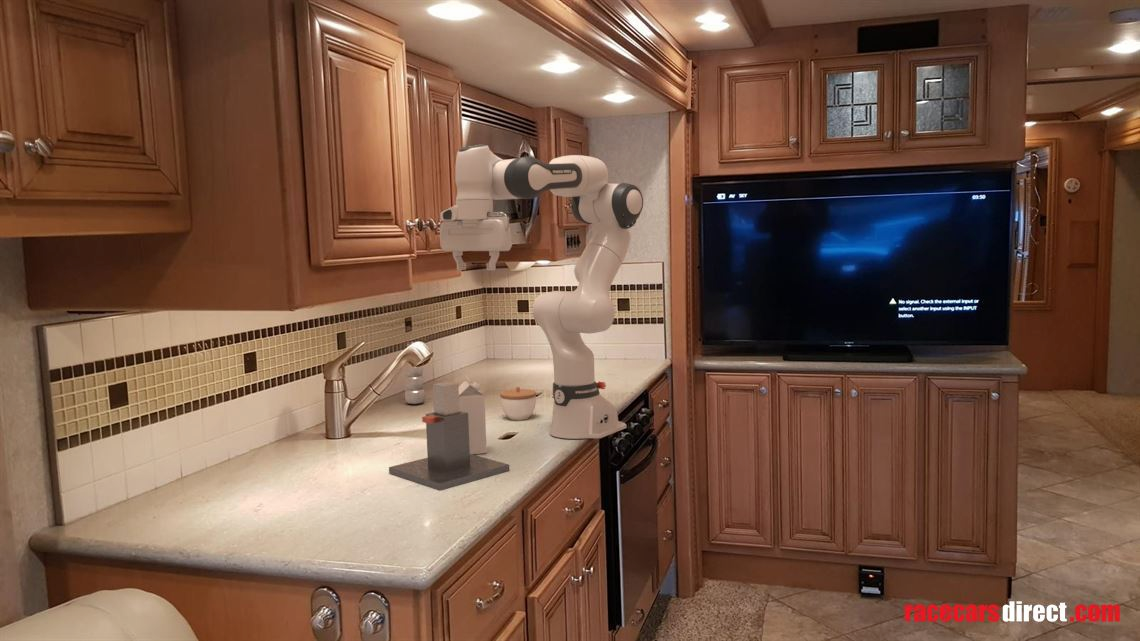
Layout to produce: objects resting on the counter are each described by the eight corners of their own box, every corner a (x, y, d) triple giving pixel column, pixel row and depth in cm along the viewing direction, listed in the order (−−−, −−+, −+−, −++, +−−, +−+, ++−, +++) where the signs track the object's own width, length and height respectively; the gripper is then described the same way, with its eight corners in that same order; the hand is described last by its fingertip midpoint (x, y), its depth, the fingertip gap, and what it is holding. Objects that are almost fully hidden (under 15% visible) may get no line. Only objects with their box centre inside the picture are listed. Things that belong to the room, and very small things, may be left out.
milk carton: (458, 456, 219) (455, 381, 217) (454, 449, 226) (451, 377, 224) (486, 453, 221) (484, 379, 219) (482, 447, 228) (479, 375, 225)
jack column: (450, 456, 208) (447, 381, 206) (462, 459, 205) (459, 383, 203) (435, 459, 205) (432, 384, 203) (446, 463, 202) (443, 386, 200)
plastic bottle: (419, 401, 290) (416, 341, 288) (429, 404, 285) (426, 343, 283) (401, 403, 286) (398, 343, 284) (411, 406, 281) (408, 345, 279)
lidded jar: (544, 416, 262) (543, 385, 261) (521, 423, 254) (520, 391, 253) (516, 412, 269) (515, 382, 268) (493, 419, 260) (492, 388, 259)
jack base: (457, 456, 219) (455, 401, 217) (509, 470, 205) (507, 412, 203) (389, 473, 205) (386, 414, 204) (440, 490, 191) (437, 427, 189)
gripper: (516, 211, 207) (517, 270, 208) (452, 213, 219) (454, 269, 220) (499, 211, 202) (501, 271, 203) (435, 213, 213) (436, 270, 215)
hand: (476, 270), depth 212 cm, fingers open, 8 cm apart
